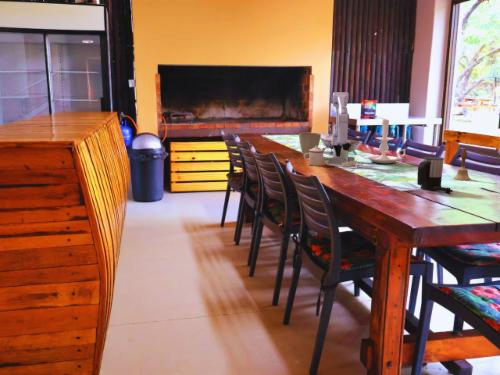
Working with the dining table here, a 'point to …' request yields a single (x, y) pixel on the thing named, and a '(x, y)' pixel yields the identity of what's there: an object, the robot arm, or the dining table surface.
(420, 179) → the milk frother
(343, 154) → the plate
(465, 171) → the hand bell
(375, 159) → the candlestick
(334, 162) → the dish rack
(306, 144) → the plant pot
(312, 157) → the teacup with lid
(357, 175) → the dining table surface
